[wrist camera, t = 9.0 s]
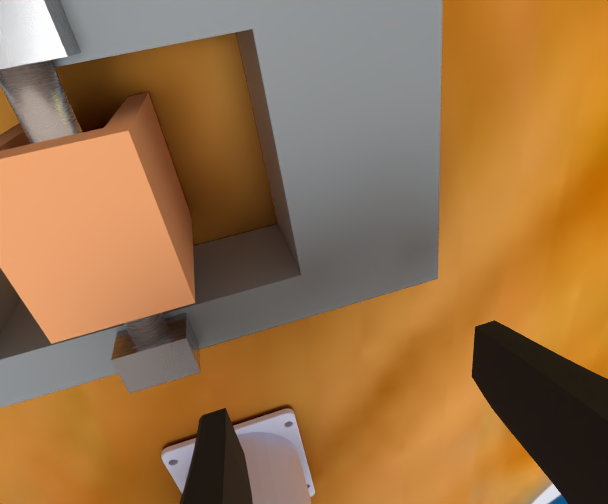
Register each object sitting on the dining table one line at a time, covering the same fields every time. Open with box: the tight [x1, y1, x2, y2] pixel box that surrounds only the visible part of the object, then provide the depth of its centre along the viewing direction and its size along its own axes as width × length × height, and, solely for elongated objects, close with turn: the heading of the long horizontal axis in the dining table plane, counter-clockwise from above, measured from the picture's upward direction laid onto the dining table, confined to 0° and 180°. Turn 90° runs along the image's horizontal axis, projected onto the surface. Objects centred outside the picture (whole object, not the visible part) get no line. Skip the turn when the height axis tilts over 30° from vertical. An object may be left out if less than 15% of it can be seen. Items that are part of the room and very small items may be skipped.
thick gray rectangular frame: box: [0, 0, 442, 408], centre depth 13 cm, size 12×22×6 cm, turn 98°
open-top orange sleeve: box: [0, 92, 195, 344], centre depth 13 cm, size 5×4×6 cm
